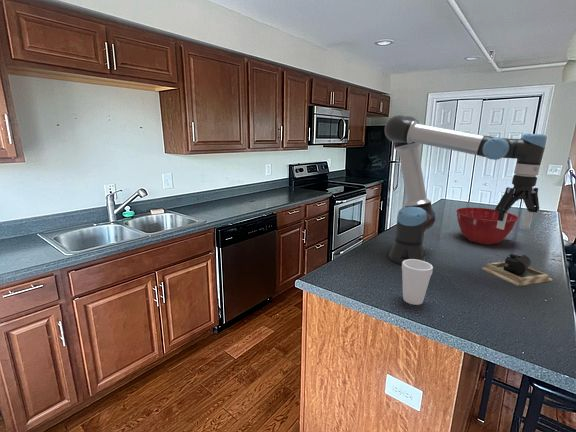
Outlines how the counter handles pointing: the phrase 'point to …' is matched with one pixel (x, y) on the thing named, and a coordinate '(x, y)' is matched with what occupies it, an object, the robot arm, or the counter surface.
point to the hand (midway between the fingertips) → (513, 227)
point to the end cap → (517, 264)
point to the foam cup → (415, 280)
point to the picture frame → (524, 279)
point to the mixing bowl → (483, 225)
